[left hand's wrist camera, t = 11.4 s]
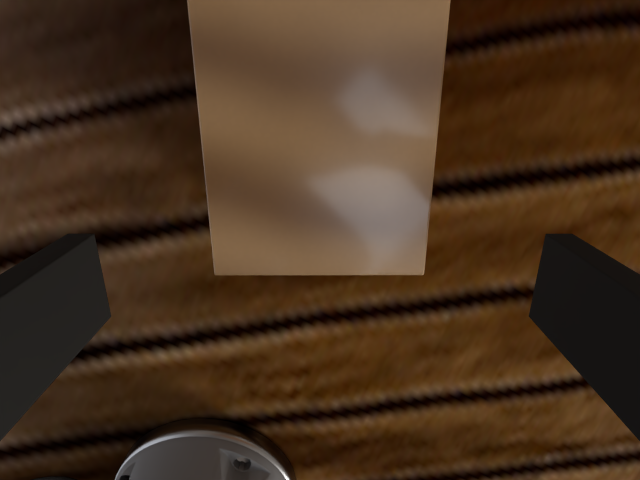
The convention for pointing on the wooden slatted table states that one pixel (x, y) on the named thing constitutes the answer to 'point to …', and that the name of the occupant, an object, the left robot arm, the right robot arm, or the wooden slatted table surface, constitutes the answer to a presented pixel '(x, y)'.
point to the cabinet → (318, 132)
